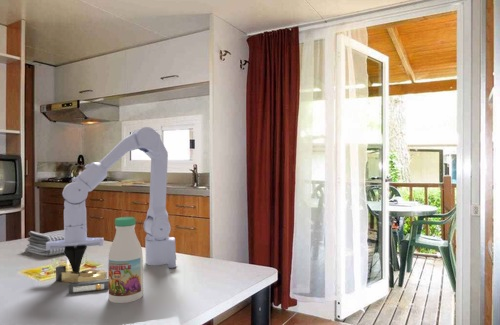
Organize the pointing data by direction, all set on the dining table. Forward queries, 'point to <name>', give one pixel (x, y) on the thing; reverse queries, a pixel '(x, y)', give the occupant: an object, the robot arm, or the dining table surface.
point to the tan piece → (79, 275)
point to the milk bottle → (125, 263)
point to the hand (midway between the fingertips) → (76, 272)
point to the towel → (44, 243)
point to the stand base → (88, 286)
